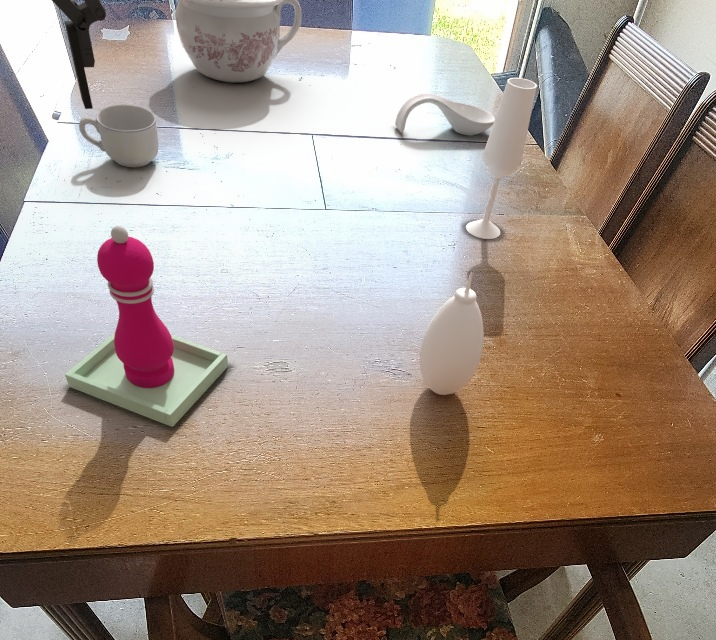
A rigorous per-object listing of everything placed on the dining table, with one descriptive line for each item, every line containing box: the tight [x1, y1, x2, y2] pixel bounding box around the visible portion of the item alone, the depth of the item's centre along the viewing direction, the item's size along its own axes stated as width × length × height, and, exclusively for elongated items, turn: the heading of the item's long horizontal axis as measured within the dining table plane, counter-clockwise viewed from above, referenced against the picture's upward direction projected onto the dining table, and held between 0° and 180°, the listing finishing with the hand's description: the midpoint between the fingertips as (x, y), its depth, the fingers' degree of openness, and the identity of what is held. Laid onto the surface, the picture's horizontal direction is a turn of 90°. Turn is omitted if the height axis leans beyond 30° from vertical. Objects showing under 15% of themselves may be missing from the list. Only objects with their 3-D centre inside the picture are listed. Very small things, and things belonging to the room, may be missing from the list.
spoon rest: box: [394, 92, 496, 136], centre depth 140 cm, size 24×12×7 cm, turn 105°
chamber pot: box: [175, 0, 303, 84], centre depth 144 cm, size 28×28×21 cm
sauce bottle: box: [419, 272, 485, 396], centre depth 78 cm, size 8×8×18 cm
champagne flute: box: [465, 77, 538, 240], centre depth 105 cm, size 7×7×24 cm
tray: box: [64, 331, 229, 428], centre depth 80 cm, size 16×14×2 cm
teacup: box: [78, 103, 159, 168], centre depth 115 cm, size 14×11×8 cm
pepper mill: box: [96, 225, 174, 388], centre depth 73 cm, size 7×7×20 cm
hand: (15, 106), depth 60 cm, fingers open, 13 cm apart
